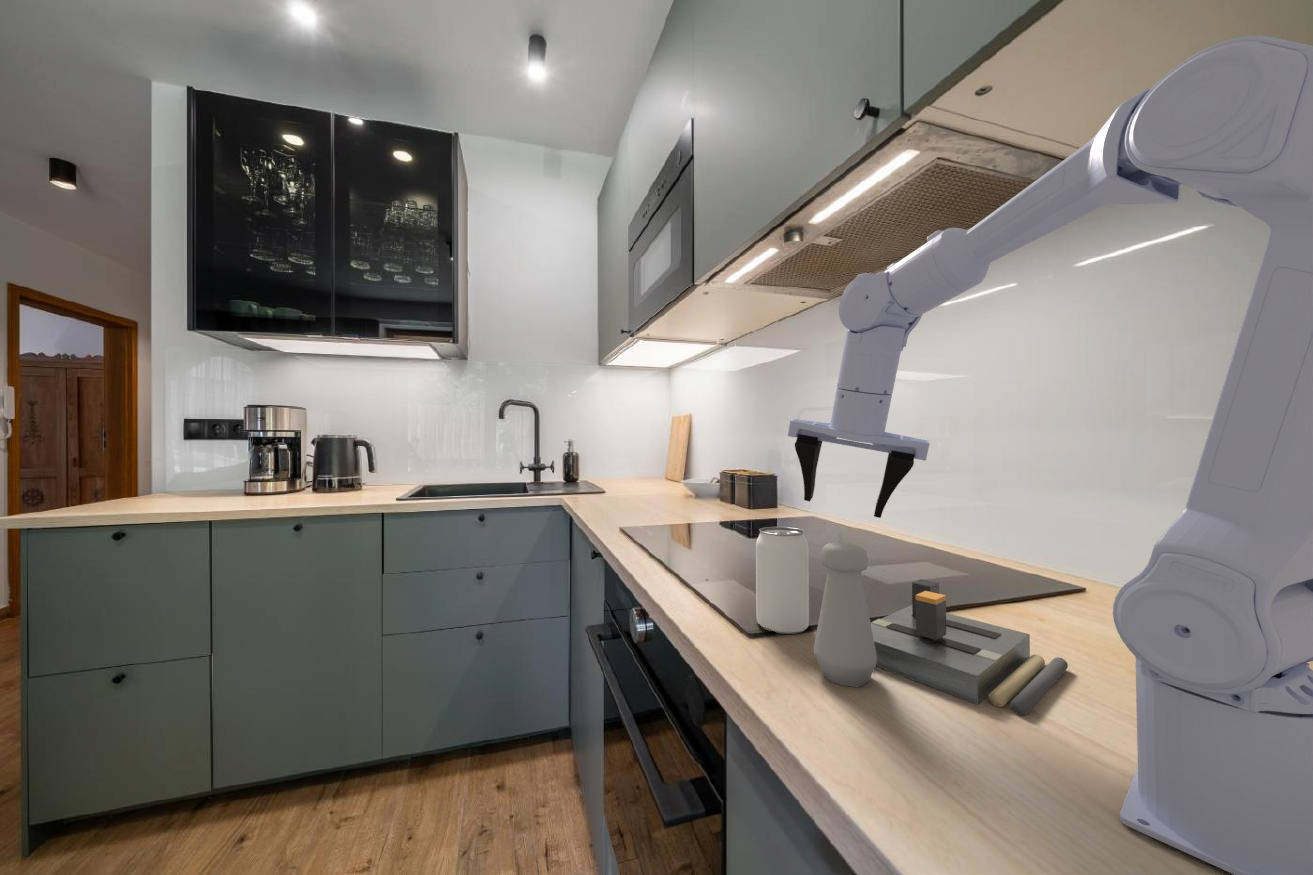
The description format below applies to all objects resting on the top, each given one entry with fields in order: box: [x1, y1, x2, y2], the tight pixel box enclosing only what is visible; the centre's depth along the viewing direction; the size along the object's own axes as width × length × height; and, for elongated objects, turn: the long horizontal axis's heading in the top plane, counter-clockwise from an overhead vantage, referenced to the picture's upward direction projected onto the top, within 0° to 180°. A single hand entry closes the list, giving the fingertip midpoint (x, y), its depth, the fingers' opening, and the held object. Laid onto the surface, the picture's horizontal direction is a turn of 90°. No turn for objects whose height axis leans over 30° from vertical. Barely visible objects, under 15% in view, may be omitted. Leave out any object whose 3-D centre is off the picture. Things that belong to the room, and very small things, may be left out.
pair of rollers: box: [988, 654, 1069, 716], centre depth 44 cm, size 3×14×1 cm, turn 128°
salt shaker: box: [813, 541, 877, 688], centre depth 46 cm, size 6×6×13 cm
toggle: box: [916, 591, 947, 640], centre depth 49 cm, size 2×2×4 cm
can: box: [755, 526, 810, 635], centre depth 59 cm, size 6×6×12 cm
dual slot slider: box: [870, 578, 1031, 705], centre depth 50 cm, size 12×15×7 cm
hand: (841, 506), depth 55 cm, fingers open, 7 cm apart
